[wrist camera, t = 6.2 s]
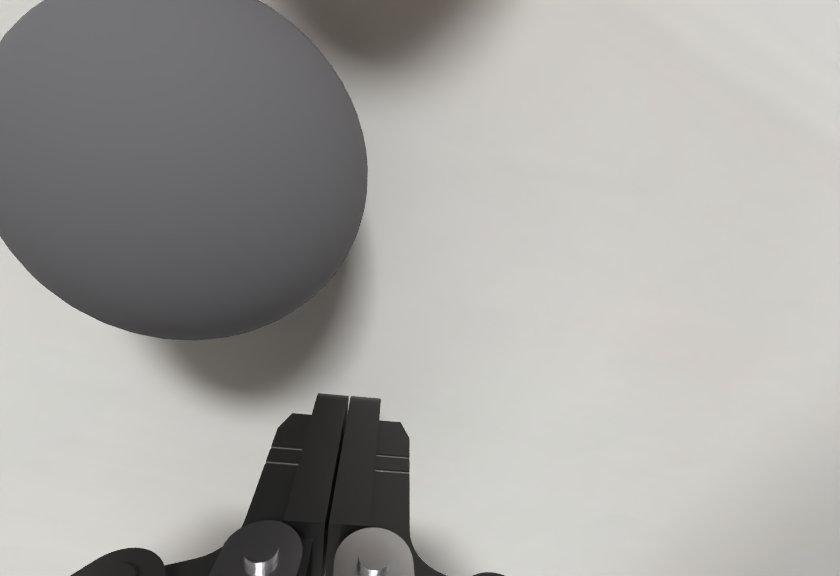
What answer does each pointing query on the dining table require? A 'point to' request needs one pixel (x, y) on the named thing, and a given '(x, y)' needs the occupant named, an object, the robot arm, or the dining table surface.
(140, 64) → the gray ball
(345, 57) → the dining table surface
